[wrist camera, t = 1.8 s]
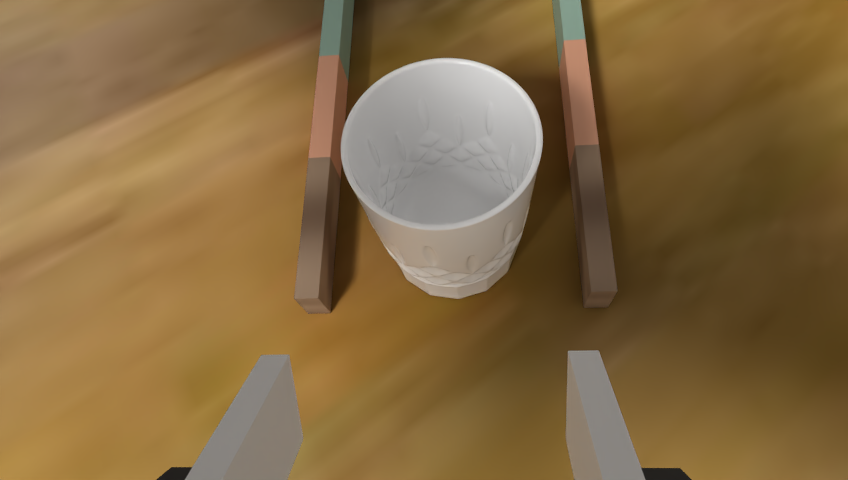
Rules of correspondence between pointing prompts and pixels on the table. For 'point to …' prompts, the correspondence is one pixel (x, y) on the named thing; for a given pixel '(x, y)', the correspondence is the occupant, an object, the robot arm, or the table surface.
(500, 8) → the table surface
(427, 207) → the white cup
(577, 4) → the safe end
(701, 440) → the table surface
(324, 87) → the walls
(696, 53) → the table surface
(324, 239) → the lane walls
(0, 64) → the table surface
